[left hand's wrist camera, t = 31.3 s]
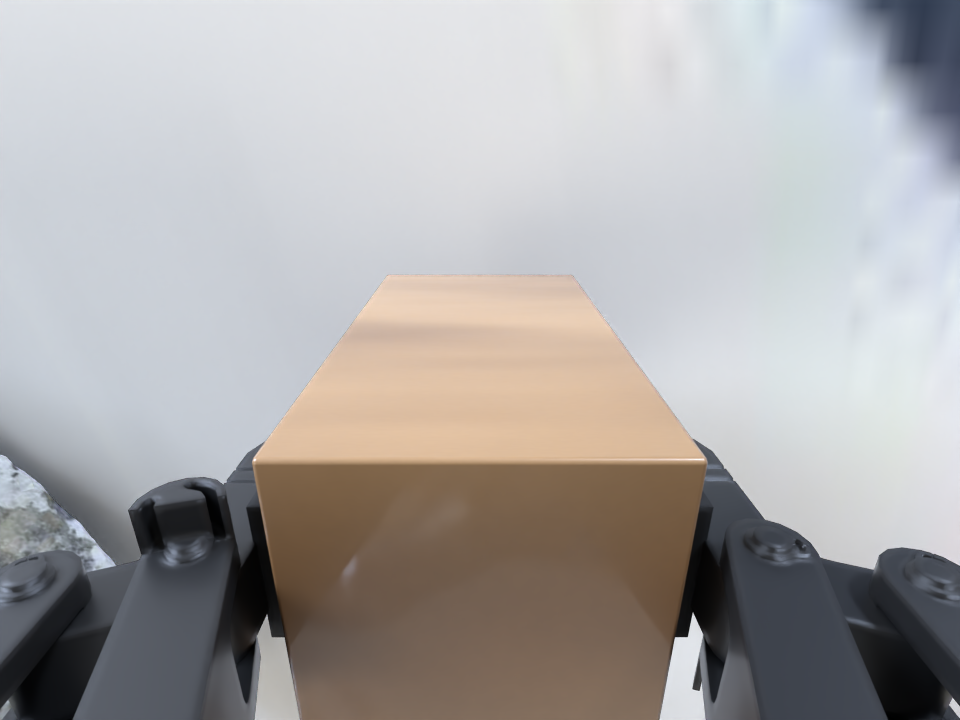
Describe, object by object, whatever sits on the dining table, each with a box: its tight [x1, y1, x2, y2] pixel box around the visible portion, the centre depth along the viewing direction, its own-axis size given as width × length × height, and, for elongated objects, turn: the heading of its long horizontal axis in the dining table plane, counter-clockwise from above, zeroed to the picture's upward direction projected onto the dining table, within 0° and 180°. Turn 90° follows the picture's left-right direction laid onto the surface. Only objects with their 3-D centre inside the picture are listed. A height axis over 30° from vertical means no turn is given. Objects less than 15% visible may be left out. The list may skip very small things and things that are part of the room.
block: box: [252, 275, 707, 720], centre depth 12 cm, size 6×6×10 cm
